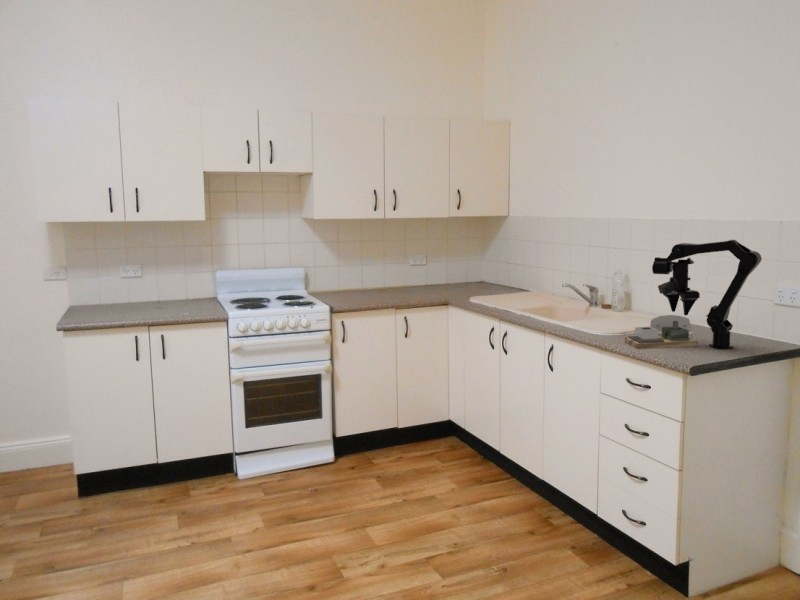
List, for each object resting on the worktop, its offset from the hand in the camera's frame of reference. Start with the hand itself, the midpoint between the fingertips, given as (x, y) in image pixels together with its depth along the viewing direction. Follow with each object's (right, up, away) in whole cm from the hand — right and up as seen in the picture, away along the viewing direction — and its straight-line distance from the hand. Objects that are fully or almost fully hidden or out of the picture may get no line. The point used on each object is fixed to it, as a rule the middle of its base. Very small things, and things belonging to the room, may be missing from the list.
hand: (679, 313), depth 257 cm
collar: (-14, -10, -2) cm, 17 cm away
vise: (-8, -12, -1) cm, 15 cm away
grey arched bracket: (+2, -10, +13) cm, 17 cm away
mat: (-14, -11, -2) cm, 18 cm away
